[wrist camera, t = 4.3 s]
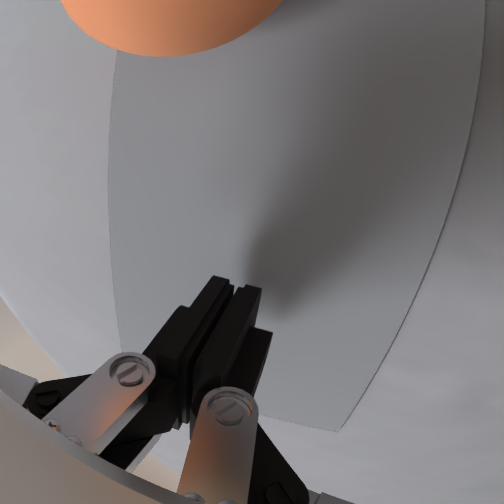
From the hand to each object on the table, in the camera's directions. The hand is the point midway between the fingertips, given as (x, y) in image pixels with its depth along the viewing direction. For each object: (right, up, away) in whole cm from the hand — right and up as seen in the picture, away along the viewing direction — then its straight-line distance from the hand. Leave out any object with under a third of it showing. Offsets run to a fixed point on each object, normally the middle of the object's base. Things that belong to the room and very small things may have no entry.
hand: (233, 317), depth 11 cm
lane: (+2, +8, -3) cm, 9 cm away
